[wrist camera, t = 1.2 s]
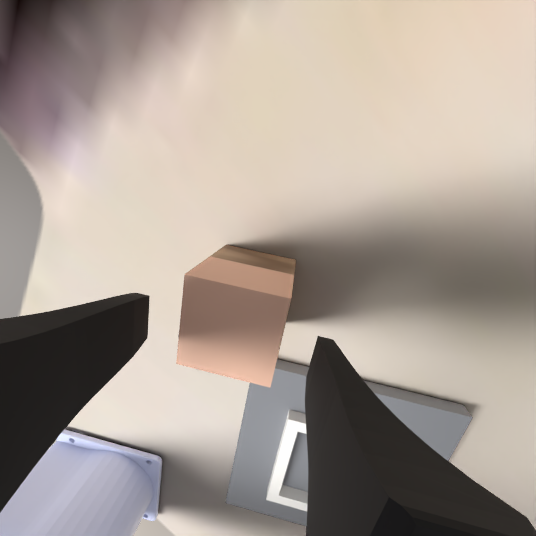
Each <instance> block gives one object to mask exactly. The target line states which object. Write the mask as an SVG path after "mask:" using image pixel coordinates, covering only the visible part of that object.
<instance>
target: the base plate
mask: <svg viewBox="0 0 536 536" xmlns="http://www.w3.org/2000/svg"><path fill="white" fill-rule="evenodd" d="M308 369H309V367H307V366H303V365H299V364H295V363H291V362H287V361H283V360H279V359H277V362H276V366H275V370H274V374H273V379H272V383H271V387H266V386H262V385H258V384H254V383H250V385H249V390H248V395H247V400H246V404H245V409H244V414H243V419H242V424H241V429H240V434H239V439H238V444H237V448H236V453H235V458H234V463H233V468H232V473H231V478H230V483H229V488H228V492H227V497H226V502H225V503H228V504H231V505H235V506H238V507H241V508H245V509H248V510H252V511H255V512H259V513H262V514H266V515H269V516H273V517H276V518H279V519H283V520H286V521H290V522H293V523H297V524H300V525H304V526H307V502H308V451H307V433H306V416H305V388H306V376H307V373H308ZM363 381H364V380H363ZM364 382H365V383H366V384H367V385H368V387H369V388H370V389H371V390H372V391H373V392H374V394H375V395H376V396H377V397H378V398H379V399H380V400H381V401H382V402H383V403H384V404H385V405H386V406H387V407H388V408H389V409H390V410H391V411H392V413H393V414H394V415H395V416H396V417H397V418H398V419H400V420H401V421H402V422H403V423H404V424H405V425H406V426H407V427H408V428H409V429H410V430H411V431H413V432H414V433H415V434H416V435H417V436H418V437H419V438H421V439H422V440H423V441H424V442H425V443H426V444H427V445H429V446H430V447H431V448H432V449H433V450H435V451H436V452H437V453H438V454H440V455H441V456H442V457H443V458H445V459H446V460H447V461H449V459H450V457H451V455H452V454H453V452H454V450H455V448H456V446H457V445H458V443H459V441H460V439H461V438H462V436H463V434H464V432H465V430H466V429H467V427H468V425H469V423H470V422H471V420H472V418H473V417H472V416H471V414H470V413H469V412H468V410H467V409H466V408H465V406H464V405H462V404H458V403H454V402H450V401H446V400H442V399H437V398H433V397H429V396H425V395H421V394H417V393H413V392H409V391H405V390H401V389H397V388H393V387H389V386H385V385H381V384H376V383H372V382H368V381H364Z"/></svg>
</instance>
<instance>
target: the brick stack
mask: <svg viewBox="0 0 536 536" xmlns="http://www.w3.org/2000/svg"><path fill="white" fill-rule="evenodd" d="M295 265H296V260H295V259H290V258H286V257H281V256H277V255H272V254H267V253H263V252H258V251H254V250H249V249H244V248H240V247H235V246H231V245H225V246H224V247H222V248H221V249H220V250H218V251H217V252H215V253H214V254H213V255H211V256H210V257H208V258H207V259H206V260H204V261H203V262H201V263H200V264H199V265H197V266H196V267H194V268H193V269H192V270H190V271H189V272H187V273H186V274H185V276H184V287H183V298H182V309H181V319H180V330H179V341H178V351H177V362H176V364H179V365H183V366H187V367H191V368H195V369H199V370H203V371H207V372H211V373H215V374H219V375H222V376H226V377H230V378H234V379H238V380H242V381H246V382H250V383H254V384H258V385H262V386H266V387H271V383H272V379H273V374H274V370H275V366H276V362H277V358H278V353H279V349H280V345H281V341H282V336H283V332H284V328H285V324H286V319H287V315H288V311H289V307H290V302H291V298H292V289H293V281H294V273H295Z"/></svg>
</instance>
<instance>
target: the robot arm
mask: <svg viewBox="0 0 536 536" xmlns="http://www.w3.org/2000/svg"><path fill="white" fill-rule="evenodd" d="M148 314H149V296H147V295H143V294H139V293H130V294H125V295H120V296H115V297H111V298H107V299H103V300H99V301H95V302H90V303H86V304H82V305H77V306H73V307H68V308H63V309H59V310H54V311H49V312H44V313H38V314H33V315H26V316H19V317H13V318H5V319H0V536H133V535H134V534H135V532H136V529H137V527H138V525H139V523H140V521H141V519H142V518H143V519H147V520H150V521H154V520H156V517H157V515H158V506H159V494H160V482H161V470H162V459H161V457H159V456H157V455H154V454H150V453H147V452H143V451H139V450H136V449H132V448H129V447H125V446H122V445H118V444H115V443H111V442H108V441H104V440H100V439H97V438H93V437H90V436H86V435H83V434H79V433H76V432H72V431H69V430H65V428H66V427H67V426H68V424H69V423H70V422H71V421H72V420H73V418H74V417H75V416H76V415H77V414H78V412H79V411H80V410H81V409H82V408H83V407H84V406H85V405H86V404H87V403H88V402H89V400H90V399H91V398H92V397H93V396H94V395H95V394H96V393H98V392H99V391H100V390H101V389H102V388H103V387H104V386H105V385H106V384H107V383H108V382H109V381H110V380H111V379H112V378H113V377H114V376H115V375H116V374H117V373H118V372H119V371H120V369H121V368H122V367H123V366H124V365H125V364H126V363H127V362H128V361H129V360H130V359H131V358H132V357H133V356H134V355H135V353H136V352H137V351H138V350H139V348H140V347H141V346H142V344H143V343H144V341H145V340H146V339H147V335H148ZM305 416H306V433H307V451H308V502H307V527H306V536H536V530H535V529H534V527H533V526H532V524H531V523H530V521H529V520H528V518H527V517H525V516H524V515H522V514H521V513H520V512H518V511H517V510H515V509H514V508H512V507H511V506H509V505H508V504H507V503H505V502H504V501H502V500H501V499H499V498H498V497H496V496H495V495H494V494H492V493H491V492H489V491H488V490H486V489H485V488H483V487H482V486H481V485H479V484H478V483H476V482H475V481H473V480H472V479H471V478H469V477H468V476H467V475H465V474H464V473H463V472H462V471H460V470H459V469H458V468H456V467H455V466H454V465H452V464H451V463H450V462H448V461H447V460H446V459H445V458H443V457H442V456H441V455H440V454H438V453H437V452H436V451H435V450H433V449H432V448H431V447H430V446H429V445H427V444H426V443H425V442H424V441H423V440H422V439H421V438H419V437H418V436H417V435H416V434H415V433H414V432H413V431H411V430H410V429H409V428H408V427H407V426H406V425H405V424H404V423H403V422H402V421H401V420H400V419H398V418H397V417H396V416H395V415H394V414H393V413H392V411H391V410H390V409H389V408H388V407H387V406H386V405H385V404H384V403H383V402H382V401H381V400H380V399H379V398H378V397H377V396H376V395H375V394H374V392H373V391H372V390H371V389H370V388H369V387H368V385H367V384H366V383H365V382H364V381H363V379H362V378H361V377H360V376H359V374H358V373H357V372H356V370H355V369H354V368H353V366H352V365H351V364H350V362H349V361H348V360H347V358H346V357H345V355H344V354H343V353H342V351H341V350H340V348H339V347H338V346H337V344H336V343H335V341H334V340H332V339H328V338H324V337H320V336H318V338H317V341H316V345H315V348H314V352H313V355H312V359H311V362H310V366H309V369H308V373H307V376H306V388H305ZM56 439H57V441H56V442H55V443H54V441H55V440H56ZM53 443H54V444H53ZM52 444H53V445H52ZM51 445H52V446H51ZM50 446H51V447H50Z"/></svg>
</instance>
